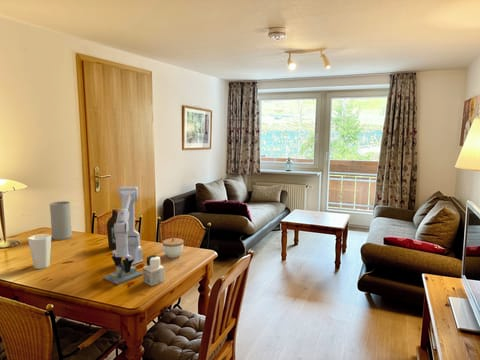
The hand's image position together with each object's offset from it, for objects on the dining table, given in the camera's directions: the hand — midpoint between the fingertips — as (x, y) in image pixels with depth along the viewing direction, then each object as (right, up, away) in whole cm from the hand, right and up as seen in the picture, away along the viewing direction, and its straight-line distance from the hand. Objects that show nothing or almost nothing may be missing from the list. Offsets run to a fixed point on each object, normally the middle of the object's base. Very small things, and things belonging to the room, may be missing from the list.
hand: (123, 270), depth 176 cm
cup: (-50, -2, +14) cm, 52 cm away
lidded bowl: (+20, 0, +32) cm, 37 cm away
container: (+17, -4, -5) cm, 18 cm away
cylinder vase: (-66, +6, +67) cm, 94 cm away
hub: (0, -2, 0) cm, 2 cm away
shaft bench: (0, -3, 0) cm, 3 cm away
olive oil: (-20, +3, +46) cm, 51 cm away
